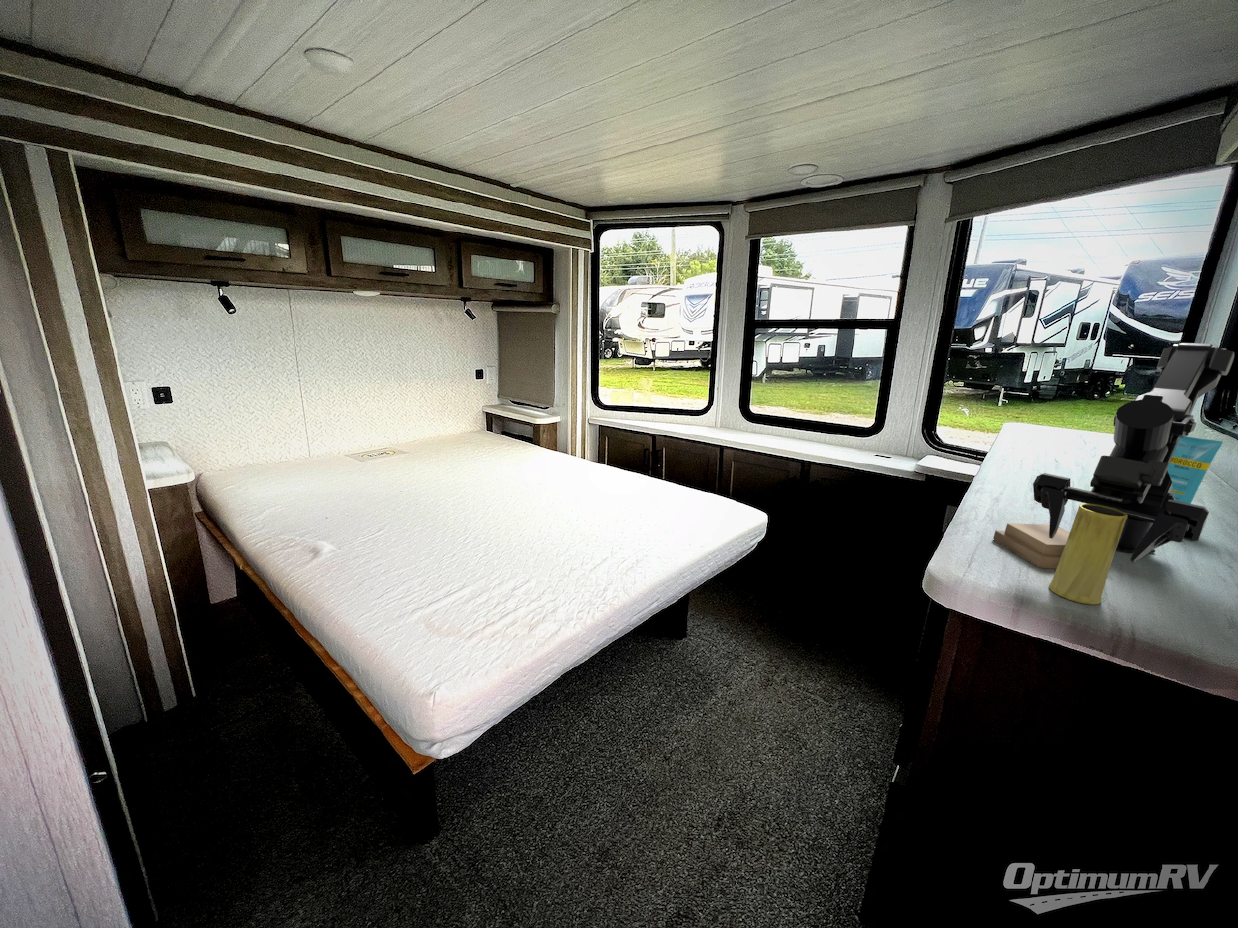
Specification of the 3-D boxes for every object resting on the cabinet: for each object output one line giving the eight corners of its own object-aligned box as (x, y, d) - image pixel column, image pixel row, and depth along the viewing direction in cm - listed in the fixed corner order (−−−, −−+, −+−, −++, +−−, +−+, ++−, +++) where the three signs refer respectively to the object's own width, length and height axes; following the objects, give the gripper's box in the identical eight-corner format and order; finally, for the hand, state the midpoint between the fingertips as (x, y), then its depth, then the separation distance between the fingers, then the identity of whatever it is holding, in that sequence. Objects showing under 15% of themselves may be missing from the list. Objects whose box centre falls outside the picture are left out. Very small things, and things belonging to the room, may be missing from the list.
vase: (1038, 584, 78) (1064, 502, 73) (1072, 583, 78) (1100, 502, 74) (1075, 605, 72) (1106, 518, 68) (1112, 604, 72) (1145, 517, 68)
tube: (1136, 517, 108) (1166, 433, 102) (1147, 514, 109) (1177, 432, 104) (1183, 530, 101) (1218, 442, 95) (1193, 527, 103) (1229, 440, 97)
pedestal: (1049, 541, 94) (1055, 522, 92) (1102, 569, 83) (1110, 548, 82) (992, 539, 94) (998, 521, 92) (1039, 567, 83) (1045, 546, 82)
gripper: (1053, 425, 78) (1011, 500, 75) (1234, 451, 63) (1190, 546, 60) (1054, 464, 85) (1015, 535, 82) (1218, 497, 70) (1177, 584, 67)
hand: (1089, 548), depth 72 cm, fingers open, 9 cm apart
